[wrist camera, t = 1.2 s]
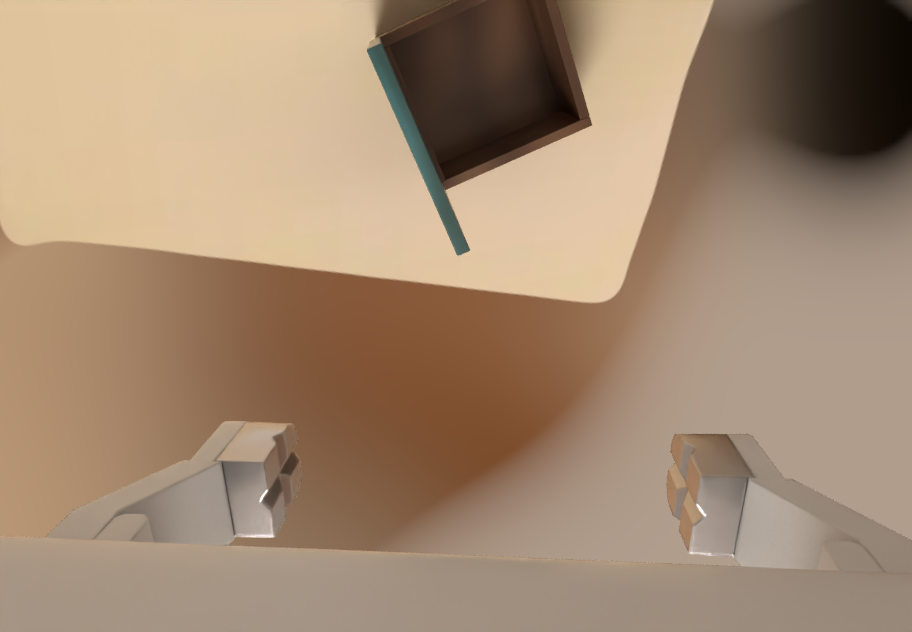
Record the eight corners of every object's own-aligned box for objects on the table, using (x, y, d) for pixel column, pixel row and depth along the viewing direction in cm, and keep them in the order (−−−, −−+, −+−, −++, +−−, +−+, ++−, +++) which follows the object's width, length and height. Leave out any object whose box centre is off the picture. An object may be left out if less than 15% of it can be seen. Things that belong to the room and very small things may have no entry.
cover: (381, 42, 31) (366, 49, 31) (470, 251, 36) (457, 256, 36) (379, 36, 44) (369, 41, 44) (446, 191, 49) (436, 195, 49)
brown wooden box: (524, -33, 49) (544, -41, 43) (568, 114, 55) (592, 125, 49) (374, 37, 50) (374, 39, 44) (433, 173, 56) (440, 192, 50)
